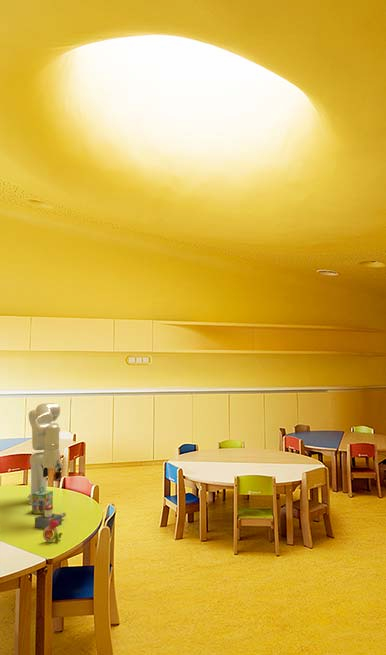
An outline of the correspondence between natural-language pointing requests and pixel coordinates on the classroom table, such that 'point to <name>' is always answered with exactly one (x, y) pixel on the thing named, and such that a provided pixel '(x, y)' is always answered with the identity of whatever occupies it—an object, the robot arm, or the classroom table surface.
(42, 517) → the chuck block
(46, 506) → the key peg
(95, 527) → the classroom table surface
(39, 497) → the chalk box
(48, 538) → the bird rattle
